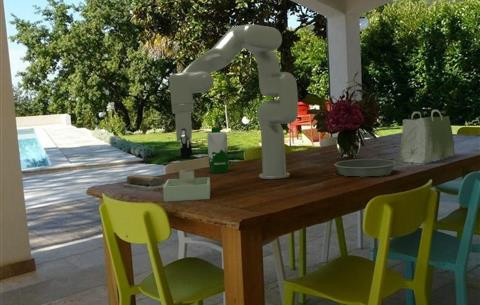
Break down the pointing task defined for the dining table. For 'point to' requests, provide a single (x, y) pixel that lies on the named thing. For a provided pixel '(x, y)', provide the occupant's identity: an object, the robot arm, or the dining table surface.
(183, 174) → the cream block
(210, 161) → the milk carton
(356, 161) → the cake pan
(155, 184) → the packaged product
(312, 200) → the dining table surface
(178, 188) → the sage bin
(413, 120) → the grocery bag
